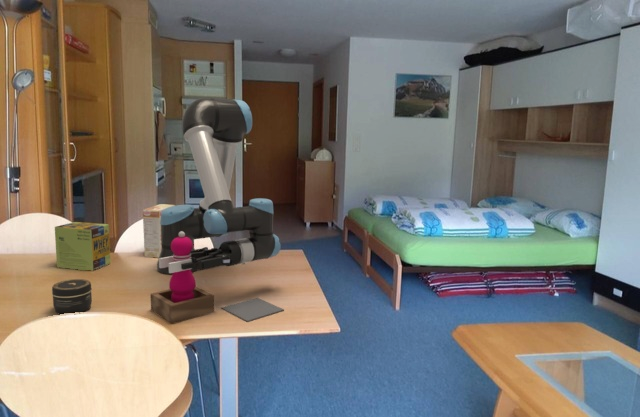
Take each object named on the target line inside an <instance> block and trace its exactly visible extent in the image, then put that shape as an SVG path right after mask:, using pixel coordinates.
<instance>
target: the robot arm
mask: <svg viewBox="0 0 640 417" xmlns="http://www.w3.org/2000/svg"><path fill="white" fill-rule="evenodd" d="M252 128H253V115H252V111H251V109H250V106H249V105H248V104H247V103H246V102H245V101H244V100H242V99H241V100H240V99H235V98H215V97H213V98H212V97H200V98H197V99H195V100H194V101H192V102H191V103H190V104H189V105H188V106H187V107H186V109H185V111H184V114H183V116H182V120H181V131H182V134H183V138H184V140H185V141H186V142H187V143H188V144H189V148H190V150H191V154H192V157H193V161H194V165H195V168H196V171H197V174H198V178H199V183H200V185H201V188H202V191H203V196H204V198H202V199H200V201H199V205H198V207H196V208H194V206H193V205H192V204H179V205H178V204H177V205H175V206H172V207H168V208H166V209H164V210H163V211H162V212H161V221H160V224H161V253H160V256H159V258H157V259H158V260H157V263H156V270H157V272H158V273H160V274H165V275H172V274H173V273H174V272H179V271H184V270H189V269H191V272H192V273H193V272H196V271H203V270H204V271H205V270H208V269H214V268H219V267H223V266H226V267H231V266H235V265H240V264H242V265H246V263H250V262H255V261H259V260H261V261H262V260H266V259H270V258H273V257H276V256H277V255H279V253H280V251H281V246H282V245H281V243H280V238H279V236H277V235H276V234H275V233H274V230H273V227H274V203H273V200H271V199H268V198H264V197H263V198H261V197H259V198H252V199H249V202H248V205H247V206H236V207H234V203H233V201H232V198H231V194H230V190H231V183H232V176H233V171H234V167H235V166H234V165H235V161H236V155H237V149H238V145H239V144H240V143H242V142H243V139H244V135H248V134H249V133H250V132H251V130H252ZM181 231H183V232H184V233H185V236H184V237H188V238H189V239H191V241H192V243H193V249H192V250H191V252H190V253H191V259H188V260H182V261H177V262H175V261H174V259H173V254H174V252H173V251H172V250H171V242H172V241H173V239H175V238H177V237H179V235H178V234H179V232H181ZM246 231H248V234H249V237H244V238H238V239H234V240H227V241H223V242H222V243H221V244H220V245H219V248H218V247H212V248H209V247H208V246H205V247H201V248H196V249H195V240H200V239H208V238H209V239H210V238H220V237H223V236H227V235H229V234H230V233H236V232H246Z"/></svg>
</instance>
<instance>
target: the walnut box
mask: <svg viewBox="0 0 640 417" xmlns="http://www.w3.org/2000/svg"><path fill="white" fill-rule="evenodd" d="M192 292H194V299H190V300H186V301H182V302H178V303H175V302H173V301H172V300H171V294H172V293H173V292H172V291H171V290H170V288H169V289H163V290H160V291H155V292H151V293H150V310H151V311H152V312H153V313H155V314H157V315H158V316H160V317H161V318H163V319H165V321H167V322H168V323H170V324H172V325H174V324H176V323H181V322H183V321H187V320H191V319H195V318H199V317H202V316H205V315H208V314H209V315H210V314H212V313H215V295H214V294H212V293H210V292H209V291H206V290H204V289H202V288H199V287H198V286H195V288H194V290H193V291H192Z"/></svg>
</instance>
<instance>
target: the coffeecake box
mask: <svg viewBox="0 0 640 417" xmlns="http://www.w3.org/2000/svg"><path fill="white" fill-rule="evenodd" d="M172 206H176V205H175V204H167V203H159V204H157V205H153V206H150V207H148V208H144V209H142V226H143V227H142V228H143V247H144V248H143V249H144V250H143V251H144V258H153V257H156V258H155V259H159V256H160V253H161V224H160V221H161V212H162V211H163V210H164V209H166V208H168V207H172Z"/></svg>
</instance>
